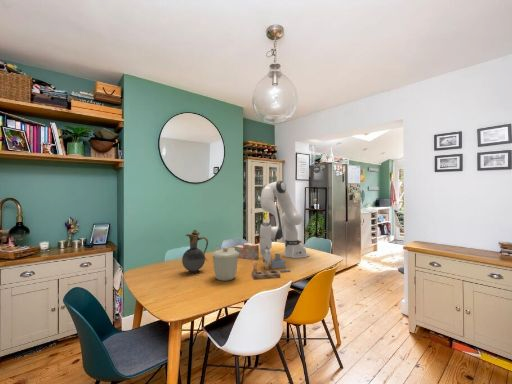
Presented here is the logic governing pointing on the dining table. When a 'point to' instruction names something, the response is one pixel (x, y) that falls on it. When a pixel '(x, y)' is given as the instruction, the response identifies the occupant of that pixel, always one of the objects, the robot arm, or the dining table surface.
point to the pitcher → (194, 254)
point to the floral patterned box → (248, 251)
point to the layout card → (285, 270)
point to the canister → (225, 263)
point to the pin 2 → (266, 266)
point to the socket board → (265, 274)
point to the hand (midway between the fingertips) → (265, 263)
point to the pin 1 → (254, 265)
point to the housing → (277, 262)
